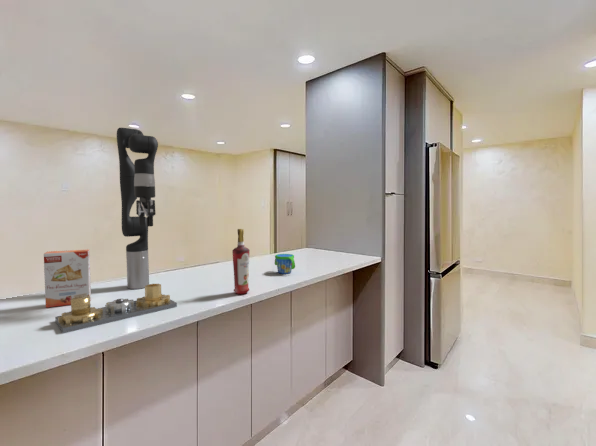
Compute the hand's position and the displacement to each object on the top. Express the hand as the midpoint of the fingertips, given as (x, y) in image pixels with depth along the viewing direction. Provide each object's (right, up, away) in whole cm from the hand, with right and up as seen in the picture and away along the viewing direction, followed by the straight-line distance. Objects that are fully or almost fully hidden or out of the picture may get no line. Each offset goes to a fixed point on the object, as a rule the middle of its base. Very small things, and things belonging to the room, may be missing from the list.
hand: (146, 225), depth 128 cm
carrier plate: (-2, -31, -16) cm, 35 cm away
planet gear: (+6, -29, -8) cm, 31 cm away
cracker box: (-28, -31, -4) cm, 42 cm away
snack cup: (+54, -27, +51) cm, 79 cm away
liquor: (+37, -30, +10) cm, 48 cm away
